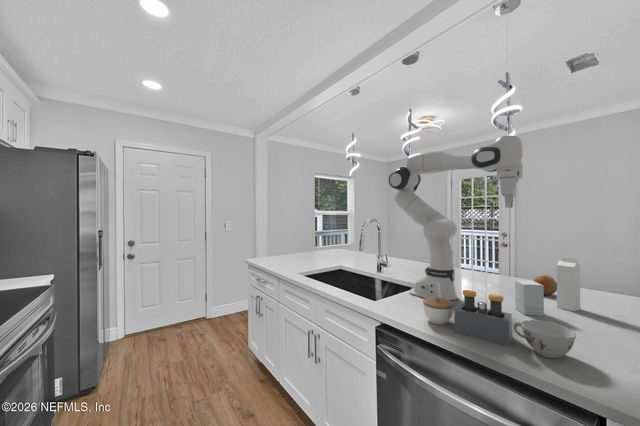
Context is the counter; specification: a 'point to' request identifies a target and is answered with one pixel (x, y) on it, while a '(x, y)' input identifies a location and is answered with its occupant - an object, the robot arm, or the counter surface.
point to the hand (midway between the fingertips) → (509, 207)
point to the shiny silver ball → (482, 307)
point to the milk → (568, 284)
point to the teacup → (547, 337)
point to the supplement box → (529, 298)
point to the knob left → (469, 300)
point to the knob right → (496, 305)
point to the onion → (547, 284)
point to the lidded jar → (438, 310)
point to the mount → (484, 325)
